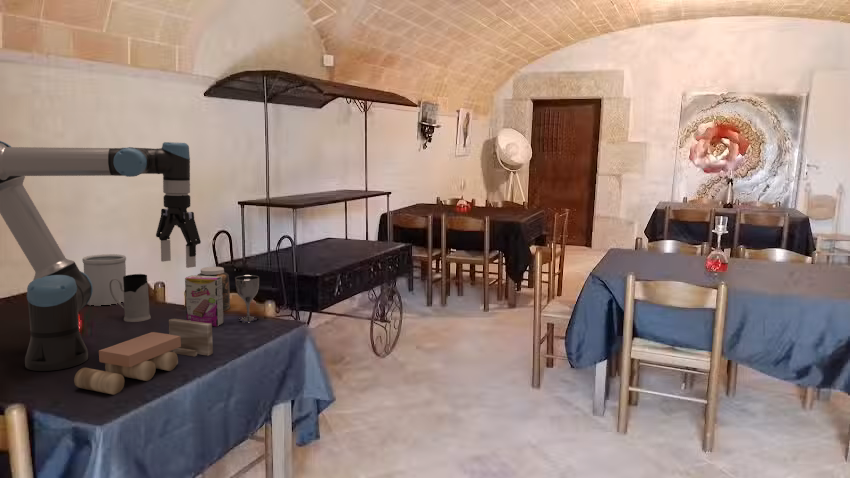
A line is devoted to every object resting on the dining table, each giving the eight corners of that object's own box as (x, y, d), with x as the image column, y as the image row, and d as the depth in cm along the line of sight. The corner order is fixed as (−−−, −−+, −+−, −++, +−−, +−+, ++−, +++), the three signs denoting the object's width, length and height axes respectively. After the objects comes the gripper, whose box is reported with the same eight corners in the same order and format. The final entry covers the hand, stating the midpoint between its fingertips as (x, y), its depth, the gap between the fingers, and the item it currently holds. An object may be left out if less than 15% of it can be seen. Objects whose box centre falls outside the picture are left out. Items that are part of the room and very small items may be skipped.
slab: (129, 367, 159) (128, 355, 159) (99, 361, 163) (98, 350, 162) (180, 346, 176) (180, 336, 176) (152, 342, 180) (152, 331, 179)
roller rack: (144, 384, 162) (142, 349, 160) (102, 376, 167) (100, 343, 165) (212, 353, 186) (211, 323, 184) (174, 347, 191) (173, 318, 189)
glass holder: (141, 322, 217) (139, 279, 214) (103, 320, 219) (100, 277, 217) (156, 315, 225) (154, 274, 223) (119, 313, 227) (117, 272, 225)
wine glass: (235, 317, 224) (234, 275, 222) (258, 315, 227) (257, 274, 225) (237, 323, 217) (236, 280, 215) (261, 321, 219) (260, 279, 217)
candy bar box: (185, 325, 213) (183, 277, 211) (192, 321, 218) (190, 274, 216) (218, 327, 212) (216, 278, 210) (224, 323, 217) (222, 275, 215)
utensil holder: (122, 295, 254) (119, 252, 252) (133, 303, 243) (130, 257, 240) (81, 301, 245) (78, 256, 242) (90, 309, 233) (87, 262, 231)
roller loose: (107, 396, 153) (108, 376, 153) (73, 389, 157) (74, 369, 157) (124, 392, 158) (124, 371, 157) (91, 385, 162) (91, 365, 161)
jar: (191, 312, 231) (190, 271, 228) (203, 304, 242) (202, 265, 240) (224, 312, 230) (222, 272, 228) (234, 304, 242) (233, 266, 240)
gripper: (212, 196, 186) (213, 268, 189) (165, 191, 201) (167, 257, 204) (189, 197, 181) (190, 271, 184) (143, 191, 196) (144, 259, 198)
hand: (178, 264), depth 194 cm, fingers open, 13 cm apart
